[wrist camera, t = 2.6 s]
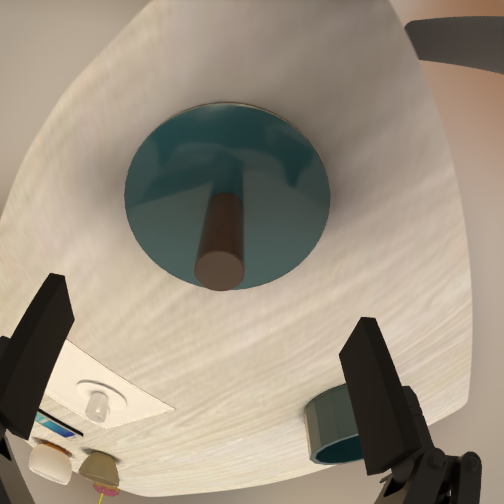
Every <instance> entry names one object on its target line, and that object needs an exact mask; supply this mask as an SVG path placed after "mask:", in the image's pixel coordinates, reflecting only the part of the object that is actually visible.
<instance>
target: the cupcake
mask: <svg viewBox="0 0 504 504" xmlns="http://www.w3.org/2000/svg"><path fill="white" fill-rule="evenodd" d="M93 487H94V488H95V489H96V490H97V491H98V492H99V493H101V496H100V500H99V502H98V504H100V503H101V500H102V497H103V495H107V496H115V495H118V494H119V492H120V490H119V489H118V488H117V487H113V486H107V485H103V484H100V483H97V482H94V484H93Z"/></svg>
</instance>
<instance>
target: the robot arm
mask: <svg viewBox="0 0 504 504" xmlns="http://www.w3.org/2000/svg"><path fill="white" fill-rule="evenodd" d="M74 320H75V319H74V315H73V311H72V307H71V303H70V299H69V294H68V290H67V285H66V281H65V276H63V275H59V274H54V273H50V274H49V275H48V277H47V278H46V280H45V281H44V283H43V284H42V286H41V287H40V289H39V291H38V292H37V294H36V295H35V297H34V299H33V300H32V302H31V304H30V305H29V307H28V308H27V310H26V312H25V314H24V315H23V317H22V319H21V320H20V322H19V324H18V326H17V327H16V329H15V331H14V333H13V335H12V337H11V338H8V337H5V336H1V337H0V504H35V502H34V500H33V498H32V496H31V494H30V492H29V490H28V488H27V486H26V484H25V481H24V479H23V477H22V475H21V472H20V470H19V468H18V465H17V463H16V460H15V458H14V455H13V453H12V450H11V447H10V445H9V442H8V439H7V437H6V435H5V432H6V429H8V430H9V431H10V432H11V433H12V434H13V435H16V436H18V437H20V438H23V439H25V440H29V436H30V433H31V430H32V427H33V424H34V421H35V418H36V415H37V412H38V409H39V406H40V403H41V400H42V397H43V395H44V392H45V389H46V387H47V384H48V381H49V379H50V376H51V374H52V371H53V369H54V366H55V364H56V361H57V359H58V356H59V354H60V352H61V349H62V347H63V345H64V342H65V340H66V338H67V336H68V333H69V331H70V329H71V327H72V325H73V322H74ZM339 358H340V361H341V365H342V369H343V373H344V377H345V380H346V384H347V388H348V392H349V396H350V400H351V404H352V409H353V413H354V417H355V421H356V425H357V430H358V434H359V438H360V443H361V447H362V452H363V457H364V461H365V466H366V471H367V475H368V476H369V475H374V474H380V473H384V472H385V471H387V470H388V469H390V468H391V470H392V473H391V474H389V475H388V476H386V477H384V478H382V479H381V481H380V483H382V482H384V481H386V480H387V481H386V483H385V484H384V486H383V488H382V490H381V492H380V494H379V496H378V498H377V499H376V501H375V503H374V504H479V501H480V490H481V474H482V473H481V472H482V464H481V460H480V457H479V456H478V455H477V454H476V453H474V452H467V453H465V454H464V455H462V456H461V457H458V456H449V455H445V453H444V452H443V451H442V450H441V449H439V448H435V447H434V445H433V442H432V440H431V436H430V433H429V430H428V427H427V424H426V421H425V418H424V415H422V414H423V413H422V410H421V407H420V404H419V401H418V399H417V396H416V394H415V393H414V392H413V390H412V389H411V388H410V386H402V385H401V382H400V380H399V377H398V374H397V372H396V369H395V366H394V364H393V361H392V358H391V356H390V353H389V351H388V348H387V346H386V343H385V341H384V338H383V336H382V333H381V331H380V328H379V326H378V323H377V321H376V319H375V318H370V317H361V318H360V320H359V321H358V323H357V325H356V327H355V328H354V330H353V332H352V333H351V335H350V337H349V338H348V340H347V342H346V343H345V345H344V347H343V348H342V350H341V352H340V353H339ZM450 491H451V496H450Z"/></svg>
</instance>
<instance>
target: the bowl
mask: <svg viewBox="0 0 504 504" xmlns="http://www.w3.org/2000/svg"><path fill="white" fill-rule="evenodd" d="M304 414H305V416H304V420H305V427H306V435H307V443H308V451H309V459H310V460H311V461H313V462H314V463H316V464H323V465H336V464H346V463H351V462H356V461H360V460H364V457H363V452H362V447H361V443H360V438H359V434H358V430H357V425H356V421H355V417H354V413H353V409H352V404H351V400H350V396H349V392H348V388H347V384H344V385H341V386H338V387H335V388H333V389H330V390H328V391H326V392H324V393H322V394H320V395H319V396H317V397H316V398H314V399H313V400H312V401H311V402H310V403H309V404H308V405H307V406H306V408H305V411H304Z"/></svg>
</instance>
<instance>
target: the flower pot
mask: <svg viewBox="0 0 504 504" xmlns="http://www.w3.org/2000/svg"><path fill="white" fill-rule="evenodd" d="M78 474H80V475H81V476H83V477H84V478H86V479H89V480H92V481H94V482H97V483H100V484H103V485H107V486H113V487H118V486H119V477H118V471H117V467H116V464H115V462H114V459H113V458H112V457H111V456H109V455H107V454H104V453H101V452H93V453H92V454H90V455H89V456H88V457H87V458H86V460H85V461H84V462H83V464H82V465H81V467H80V469H79V472H78Z"/></svg>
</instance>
